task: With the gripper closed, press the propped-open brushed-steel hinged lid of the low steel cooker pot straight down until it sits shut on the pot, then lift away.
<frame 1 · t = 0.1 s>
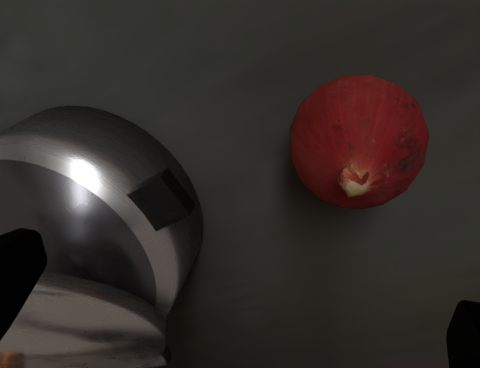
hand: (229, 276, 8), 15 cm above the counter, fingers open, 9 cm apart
cooker pot: (100, 209, 28), on the counter
onion: (353, 113, 21), on the counter
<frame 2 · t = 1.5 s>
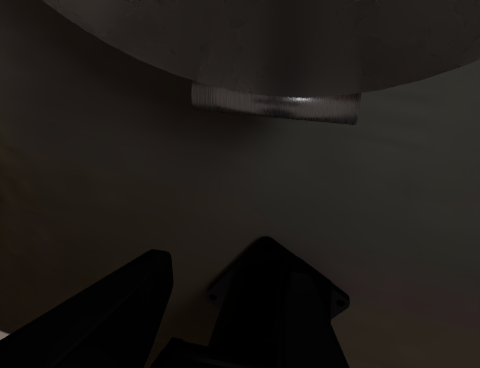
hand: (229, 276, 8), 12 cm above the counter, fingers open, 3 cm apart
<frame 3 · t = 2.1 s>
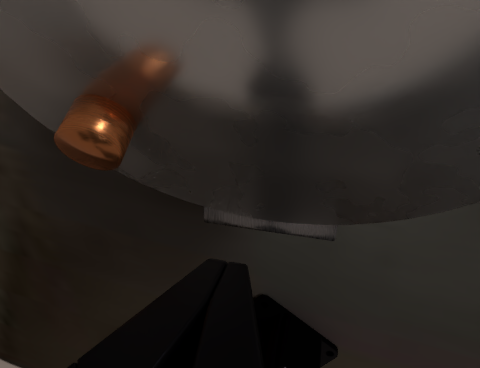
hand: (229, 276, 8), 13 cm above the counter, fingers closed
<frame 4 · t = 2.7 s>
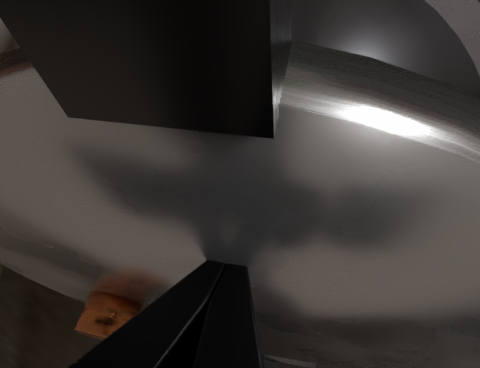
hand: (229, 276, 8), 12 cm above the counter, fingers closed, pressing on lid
lid: (231, 282, 9), point 12 cm above the counter, hinge at 29.2°, touching gripper
cooker pot: (290, 116, 19), on the counter
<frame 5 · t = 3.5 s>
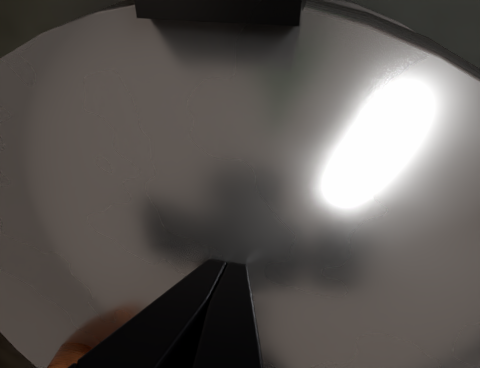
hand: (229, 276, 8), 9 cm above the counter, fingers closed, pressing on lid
lid: (228, 291, 9), point 9 cm above the counter, hinge at 9.6°, touching gripper
cooker pot: (277, 186, 17), on the counter
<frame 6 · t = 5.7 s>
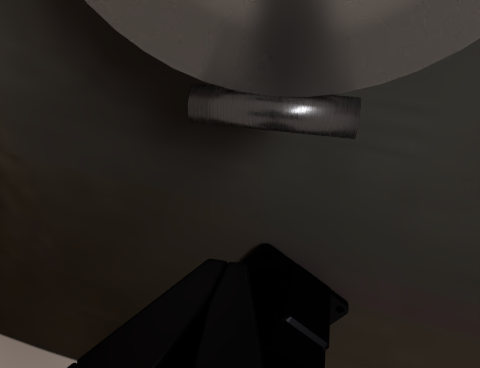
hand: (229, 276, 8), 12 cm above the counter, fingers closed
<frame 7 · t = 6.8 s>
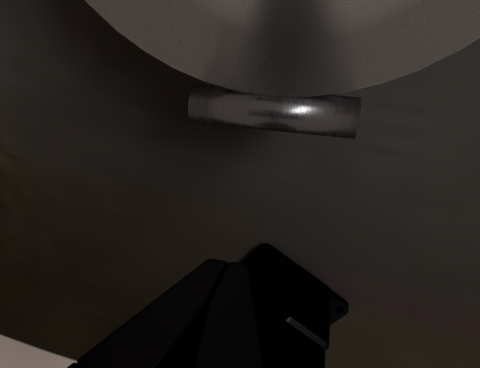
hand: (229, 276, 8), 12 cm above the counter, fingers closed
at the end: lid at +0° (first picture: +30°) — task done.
